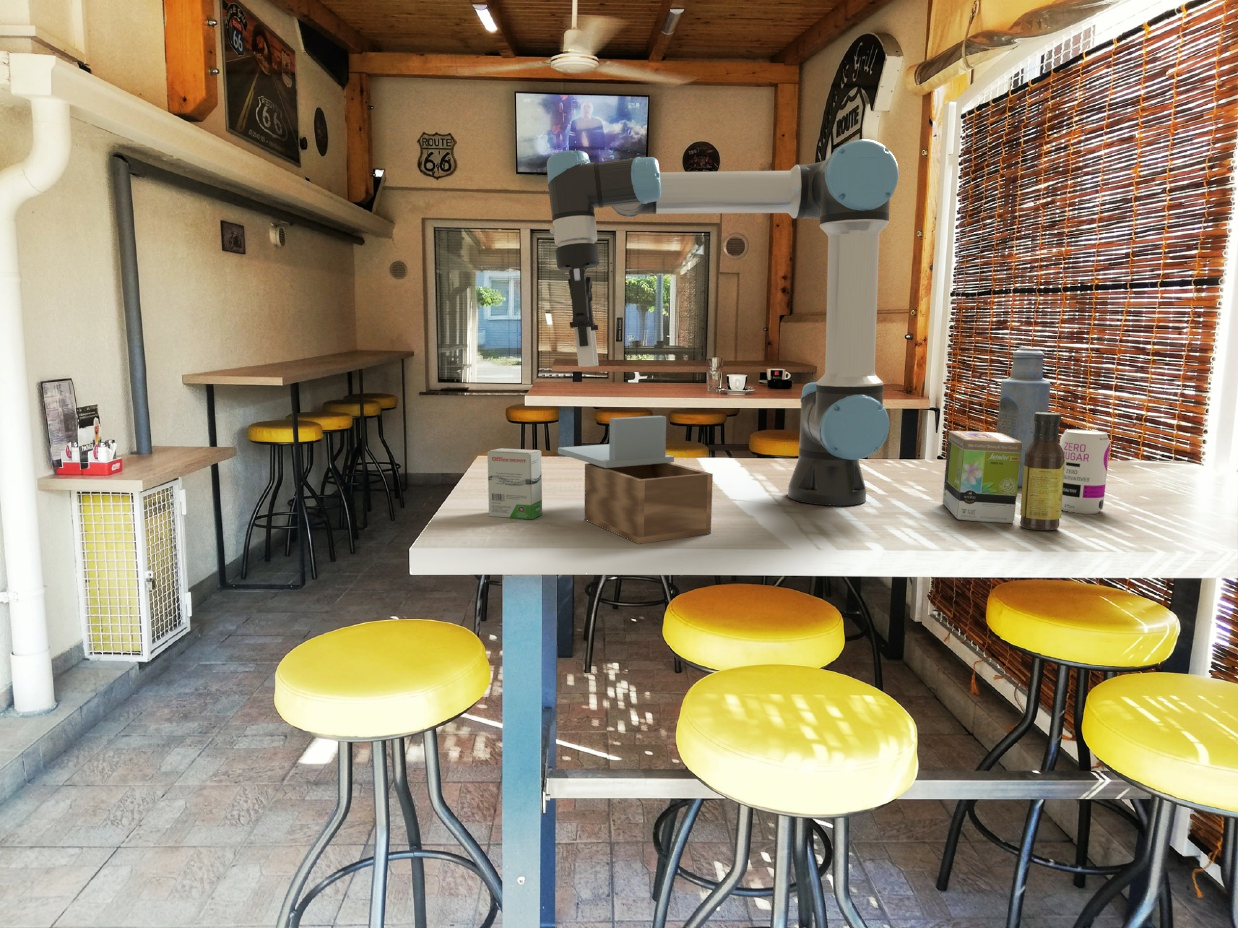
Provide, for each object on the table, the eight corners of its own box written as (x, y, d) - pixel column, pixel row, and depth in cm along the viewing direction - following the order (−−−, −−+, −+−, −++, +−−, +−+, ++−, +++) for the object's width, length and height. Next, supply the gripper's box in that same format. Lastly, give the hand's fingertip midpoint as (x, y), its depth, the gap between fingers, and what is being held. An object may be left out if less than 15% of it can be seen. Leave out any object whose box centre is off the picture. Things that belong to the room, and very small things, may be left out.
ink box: (543, 514, 149) (543, 449, 147) (531, 520, 144) (531, 453, 142) (499, 510, 152) (499, 446, 150) (487, 516, 147) (486, 450, 145)
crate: (584, 520, 145) (584, 463, 143) (652, 512, 152) (653, 458, 150) (638, 543, 130) (639, 480, 128) (710, 533, 136) (712, 473, 135)
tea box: (1016, 524, 146) (1024, 441, 144) (955, 521, 148) (962, 438, 146) (995, 506, 161) (1002, 430, 158) (941, 503, 162) (946, 428, 160)
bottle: (982, 480, 188) (993, 346, 183) (1019, 478, 191) (1031, 347, 186) (1011, 488, 179) (1024, 348, 174) (1050, 486, 181) (1064, 348, 177)
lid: (557, 453, 153) (557, 409, 151) (621, 448, 159) (622, 407, 158) (605, 468, 137) (606, 419, 136) (673, 462, 144) (675, 416, 143)
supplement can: (1099, 507, 160) (1108, 430, 158) (1104, 516, 153) (1113, 435, 150) (1052, 503, 164) (1060, 428, 161) (1054, 511, 156) (1062, 432, 154)
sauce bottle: (1067, 531, 141) (1079, 414, 138) (1035, 533, 140) (1047, 415, 136) (1040, 522, 147) (1051, 410, 144) (1010, 524, 146) (1020, 411, 142)
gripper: (561, 257, 158) (573, 368, 160) (547, 236, 133) (561, 368, 136) (601, 252, 158) (612, 364, 160) (593, 231, 133) (607, 363, 135)
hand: (589, 366), depth 148 cm, fingers open, 13 cm apart
